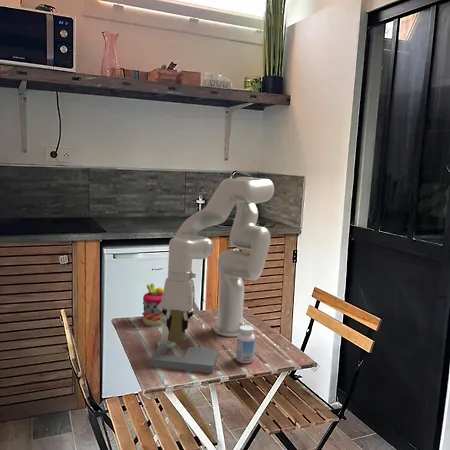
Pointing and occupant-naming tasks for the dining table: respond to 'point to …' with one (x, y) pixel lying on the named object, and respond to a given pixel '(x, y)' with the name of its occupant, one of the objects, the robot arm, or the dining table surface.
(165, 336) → the bobbin post
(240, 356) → the pill bottle
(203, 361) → the gray block
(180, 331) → the cork
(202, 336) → the dining table surface
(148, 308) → the cake
